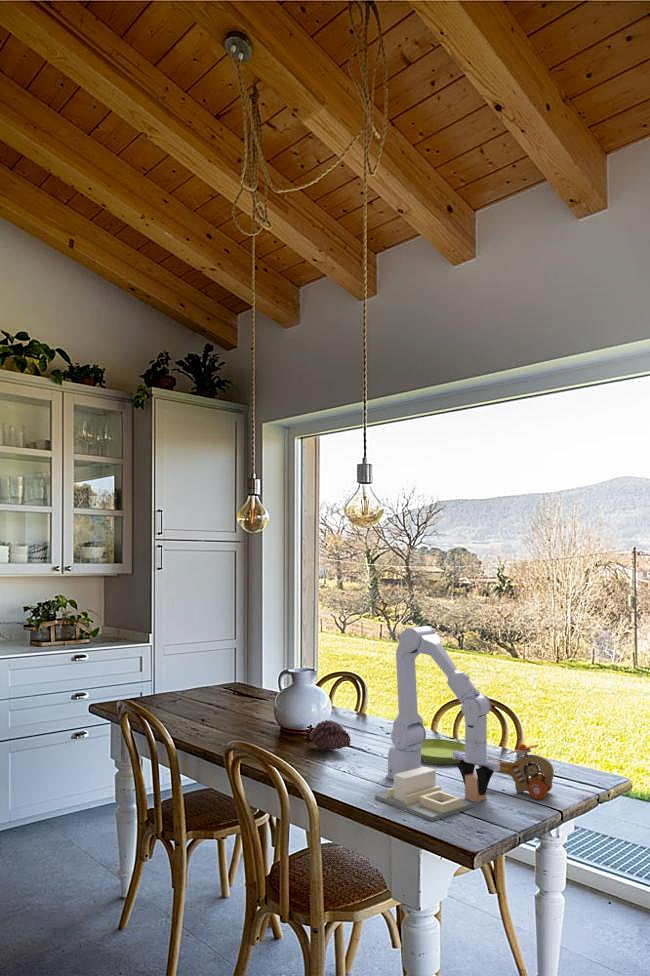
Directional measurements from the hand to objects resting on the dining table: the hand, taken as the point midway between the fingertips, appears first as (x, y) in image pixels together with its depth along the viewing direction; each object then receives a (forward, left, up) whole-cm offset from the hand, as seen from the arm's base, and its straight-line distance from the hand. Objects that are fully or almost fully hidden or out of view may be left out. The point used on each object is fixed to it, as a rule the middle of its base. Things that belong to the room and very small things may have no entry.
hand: (475, 792), depth 202 cm
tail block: (0, 0, -2) cm, 2 cm away
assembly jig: (-6, -14, -2) cm, 15 cm away
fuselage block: (-9, -14, -1) cm, 17 cm away
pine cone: (-57, -3, -2) cm, 57 cm away
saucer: (-32, +22, -2) cm, 39 cm away
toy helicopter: (+4, +14, -2) cm, 15 cm away
